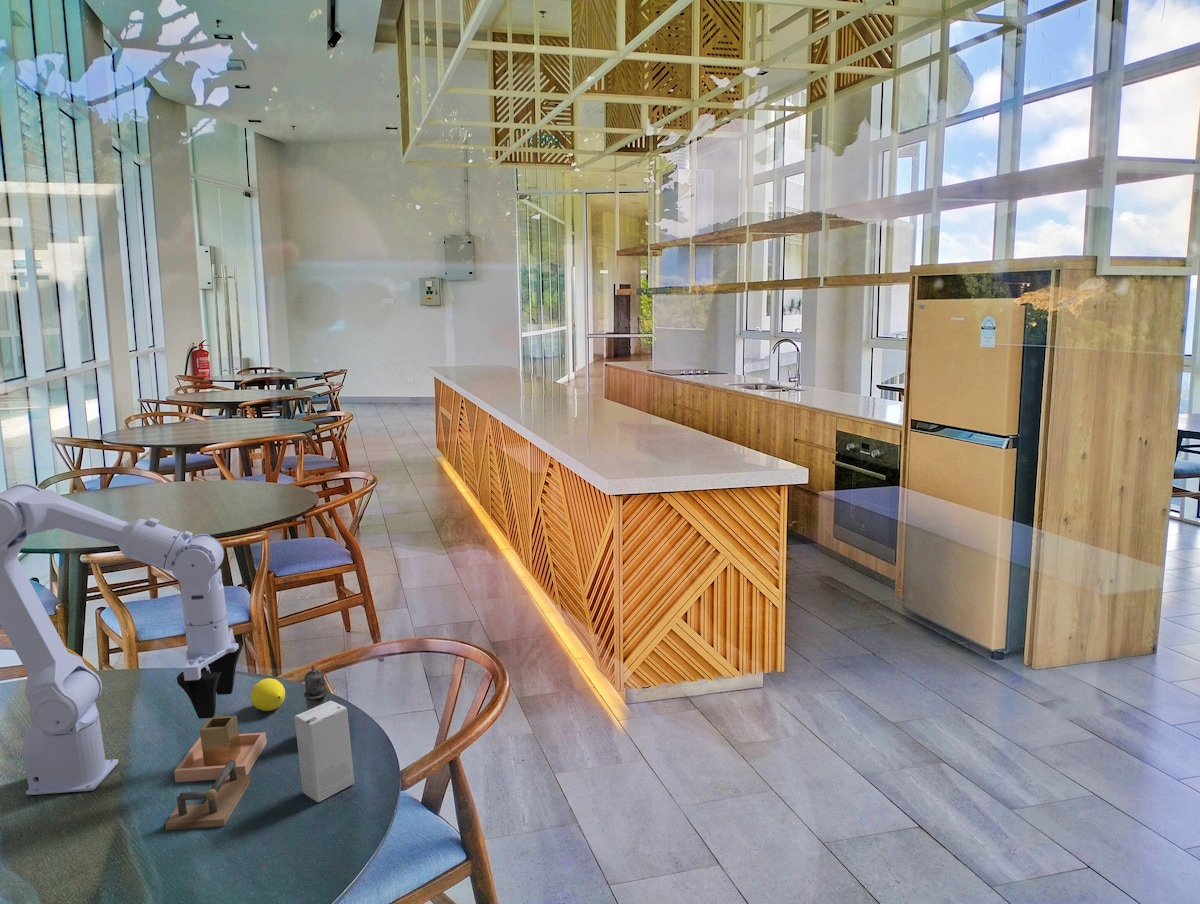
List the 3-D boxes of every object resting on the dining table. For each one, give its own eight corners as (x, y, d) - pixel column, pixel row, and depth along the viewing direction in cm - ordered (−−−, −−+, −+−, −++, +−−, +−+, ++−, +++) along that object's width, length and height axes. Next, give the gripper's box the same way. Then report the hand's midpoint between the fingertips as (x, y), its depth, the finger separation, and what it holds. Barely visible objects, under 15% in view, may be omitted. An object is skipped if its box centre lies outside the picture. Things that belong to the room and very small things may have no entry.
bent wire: (166, 830, 114) (162, 801, 114) (197, 784, 125) (194, 757, 124) (224, 825, 115) (220, 797, 114) (250, 780, 126) (247, 753, 125)
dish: (175, 782, 126) (174, 771, 125) (201, 747, 136) (200, 736, 135) (246, 777, 127) (244, 766, 126) (266, 742, 136) (265, 732, 136)
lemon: (246, 712, 148) (240, 682, 148) (275, 701, 152) (270, 671, 152) (266, 719, 143) (260, 687, 143) (296, 707, 147) (290, 676, 147)
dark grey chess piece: (327, 747, 134) (320, 674, 132) (293, 744, 136) (285, 672, 134) (345, 728, 140) (339, 658, 138) (312, 726, 141) (305, 657, 139)
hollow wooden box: (204, 767, 129) (199, 730, 128) (214, 753, 133) (209, 717, 132) (231, 765, 129) (227, 728, 128) (240, 751, 133) (236, 715, 132)
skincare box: (338, 775, 126) (331, 697, 124) (356, 785, 123) (349, 706, 121) (300, 794, 122) (292, 714, 120) (318, 805, 119) (309, 723, 117)
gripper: (216, 636, 120) (226, 726, 123) (249, 600, 134) (258, 682, 137) (163, 639, 120) (175, 730, 122) (202, 603, 134) (212, 685, 136)
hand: (216, 705), depth 129 cm, fingers open, 7 cm apart
